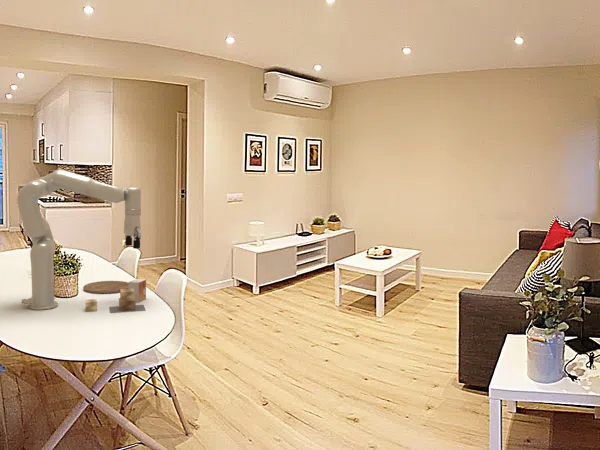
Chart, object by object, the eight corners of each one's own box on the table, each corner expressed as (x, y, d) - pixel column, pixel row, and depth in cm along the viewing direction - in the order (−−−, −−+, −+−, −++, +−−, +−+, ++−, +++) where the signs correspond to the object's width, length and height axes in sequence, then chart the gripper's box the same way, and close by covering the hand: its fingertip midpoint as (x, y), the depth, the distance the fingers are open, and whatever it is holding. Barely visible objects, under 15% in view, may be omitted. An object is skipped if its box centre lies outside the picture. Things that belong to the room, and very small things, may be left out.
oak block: (121, 301, 248) (121, 292, 247) (120, 298, 253) (120, 289, 253) (134, 300, 250) (134, 291, 249) (133, 297, 255) (133, 288, 255)
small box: (138, 303, 264) (138, 282, 262) (128, 302, 265) (128, 281, 263) (146, 299, 271) (146, 279, 270) (136, 298, 272) (136, 278, 271)
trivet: (140, 287, 298) (140, 283, 298) (111, 297, 275) (111, 293, 275) (104, 282, 306) (104, 279, 306) (72, 291, 283) (72, 288, 283)
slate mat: (110, 313, 244) (110, 313, 244) (108, 307, 254) (108, 306, 254) (145, 311, 250) (145, 310, 250) (143, 305, 260) (143, 304, 260)
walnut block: (120, 311, 247) (120, 301, 247) (119, 307, 254) (119, 298, 253) (135, 310, 250) (135, 300, 250) (134, 306, 256) (134, 297, 256)
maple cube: (85, 312, 245) (85, 302, 244) (85, 310, 249) (85, 299, 249) (97, 312, 246) (96, 301, 246) (96, 309, 251) (96, 299, 250)
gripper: (118, 211, 264) (118, 244, 266) (132, 214, 251) (132, 250, 253) (133, 210, 268) (132, 243, 270) (147, 213, 255) (147, 248, 257)
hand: (132, 246), depth 261 cm, fingers open, 9 cm apart
